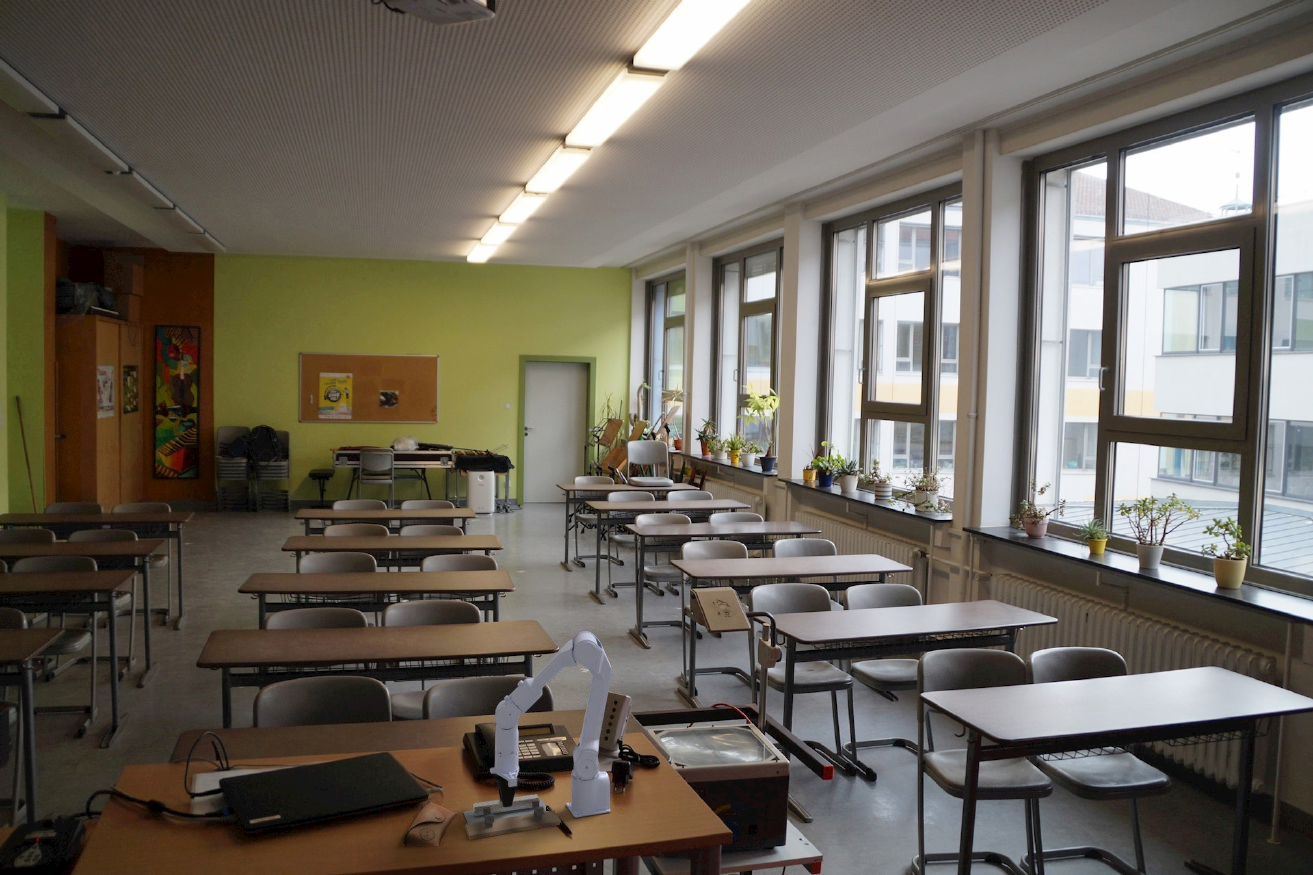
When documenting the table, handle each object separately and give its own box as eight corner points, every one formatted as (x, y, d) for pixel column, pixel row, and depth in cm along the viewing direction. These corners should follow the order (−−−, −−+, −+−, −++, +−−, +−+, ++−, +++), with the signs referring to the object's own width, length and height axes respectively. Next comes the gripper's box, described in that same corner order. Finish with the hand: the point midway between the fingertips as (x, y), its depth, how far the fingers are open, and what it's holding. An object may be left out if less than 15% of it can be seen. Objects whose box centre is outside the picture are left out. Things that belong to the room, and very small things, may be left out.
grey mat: (542, 801, 230) (542, 799, 230) (549, 812, 224) (549, 811, 224) (463, 812, 223) (463, 811, 223) (468, 825, 217) (468, 823, 217)
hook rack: (554, 814, 223) (554, 796, 223) (560, 824, 217) (561, 806, 217) (465, 828, 215) (465, 809, 215) (469, 839, 209) (469, 820, 209)
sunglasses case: (439, 846, 205) (425, 821, 205) (413, 861, 206) (399, 836, 206) (459, 812, 223) (445, 789, 223) (434, 825, 224) (421, 802, 224)
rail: (536, 802, 227) (536, 794, 227) (538, 806, 225) (538, 797, 225) (473, 812, 222) (473, 803, 221) (474, 816, 219) (474, 807, 219)
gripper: (485, 741, 228) (484, 794, 229) (496, 762, 215) (496, 819, 215) (512, 738, 231) (512, 790, 231) (525, 759, 217) (525, 814, 218)
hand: (506, 804), depth 223 cm, fingers closed on rail, 2 cm apart
